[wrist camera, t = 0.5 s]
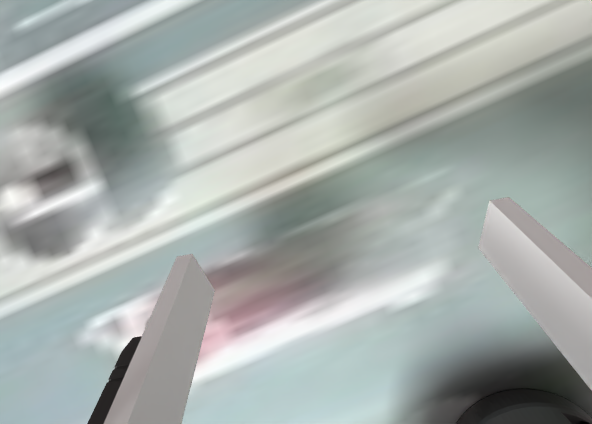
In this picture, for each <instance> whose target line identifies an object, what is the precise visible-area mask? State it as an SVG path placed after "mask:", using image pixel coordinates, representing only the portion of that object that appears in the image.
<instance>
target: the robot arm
mask: <svg viewBox="0 0 592 424" xmlns="http://www.w3.org/2000/svg"><path fill="white" fill-rule="evenodd" d="M478 248H479V250H480V251H481V252H482V253H483V255H484V256H485V257H486V258H487V260H488V261H489V262H490V263H491V265H492V266H493V267H494V268H495V270H496V271H497V272H498V273H499V275H500V276H501V277H502V279H503V280H504V281H505V282H506V284H507V285H508V286H509V287H510V289H511V290H512V291H513V292H514V294H515V295H516V296H517V297H518V299H519V300H520V301H521V302H522V304H523V305H524V306H525V308H526V309H527V310H528V311H529V313H530V314H531V315H532V316H533V318H534V319H535V320H536V321H537V323H538V324H539V325H540V326H541V328H542V329H543V330H544V331H545V333H546V334H547V335H548V337H549V338H550V339H551V340H552V342H553V343H554V344H555V345H556V347H557V348H558V349H559V350H560V352H561V353H562V354H563V355H564V357H565V358H566V359H567V360H568V362H569V363H570V364H571V366H572V367H573V368H574V369H575V371H576V372H577V373H578V374H579V376H580V377H581V378H582V379H583V381H584V382H585V383H586V384H587V386H588V387H589V388H590V389H591V391H592V268H591V267H590V266H589V265H588V264H586V263H585V262H584V261H583V260H582V259H581V258H579V257H578V256H577V255H576V254H575V253H574V252H572V251H571V250H570V249H569V248H568V247H567V246H565V245H564V244H563V243H562V242H561V241H560V240H558V239H557V238H556V237H555V236H554V235H553V234H551V233H550V232H549V231H548V230H547V229H546V228H544V227H543V226H542V225H541V224H540V223H539V222H537V221H536V220H535V219H534V218H533V217H532V216H530V215H529V214H528V213H527V212H526V211H525V210H523V209H522V208H521V207H520V206H519V205H518V204H516V203H515V202H514V201H513V200H512V199H511V198H509V197H507V198H501V199H496V200H490V201H489V205H488V209H487V213H486V217H485V221H484V225H483V230H482V234H481V238H480V242H479V246H478ZM214 292H215V290H214V288H213V287H212V285H211V284H210V282H209V280H208V279H207V277H206V275H205V274H204V272H203V270H202V269H201V267H200V265H199V264H198V262H197V261H196V259H195V257H194V256H193V254H189V255H183V256H178V257H177V258H176V260H175V262H174V264H173V267H172V269H171V271H170V274H169V276H168V278H167V280H166V283H165V285H164V287H163V290H162V292H161V294H160V296H159V299H158V301H157V303H156V305H155V308H154V310H153V312H152V315H151V317H150V319H149V321H148V324H147V326H146V328H145V331H144V333H143V335H142V336H141V337H134V338H132V340H131V341H130V342H129V343H128V345H127V346H126V347H125V348H124V350H123V351H122V352H121V354H120V357H119V359H118V361H117V363H116V365H115V369H114V370H113V371H112V373H111V375H110V377H109V382H108V383H107V384H106V386H105V388H104V390H103V392H102V394H101V396H100V398H99V401H98V403H97V405H96V407H95V409H94V411H93V413H92V415H91V417H90V419H89V421H88V424H181V423H182V419H183V415H184V411H185V407H186V403H187V399H188V395H189V391H190V387H191V383H192V379H193V375H194V371H195V367H196V364H197V360H198V356H199V352H200V348H201V344H202V340H203V336H204V332H205V328H206V324H207V320H208V316H209V312H210V308H211V304H212V300H213V296H214ZM457 424H592V418H591V417H590V416H589V415H588V414H587V413H586V412H585V411H583V410H582V409H581V408H580V407H578V406H577V405H575V404H574V403H572V402H571V401H569V400H567V399H565V398H563V397H560V396H558V395H555V394H552V393H549V392H545V391H540V390H532V389H516V390H508V391H503V392H499V393H496V394H493V395H491V396H488V397H486V398H484V399H482V400H480V401H479V402H477V403H476V404H474V405H473V406H472V407H470V408H469V409H468V410H467V411H466V412H465V413H464V414H463V415H462V417H461V418H460V419H459V421H458V422H457Z"/></svg>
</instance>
